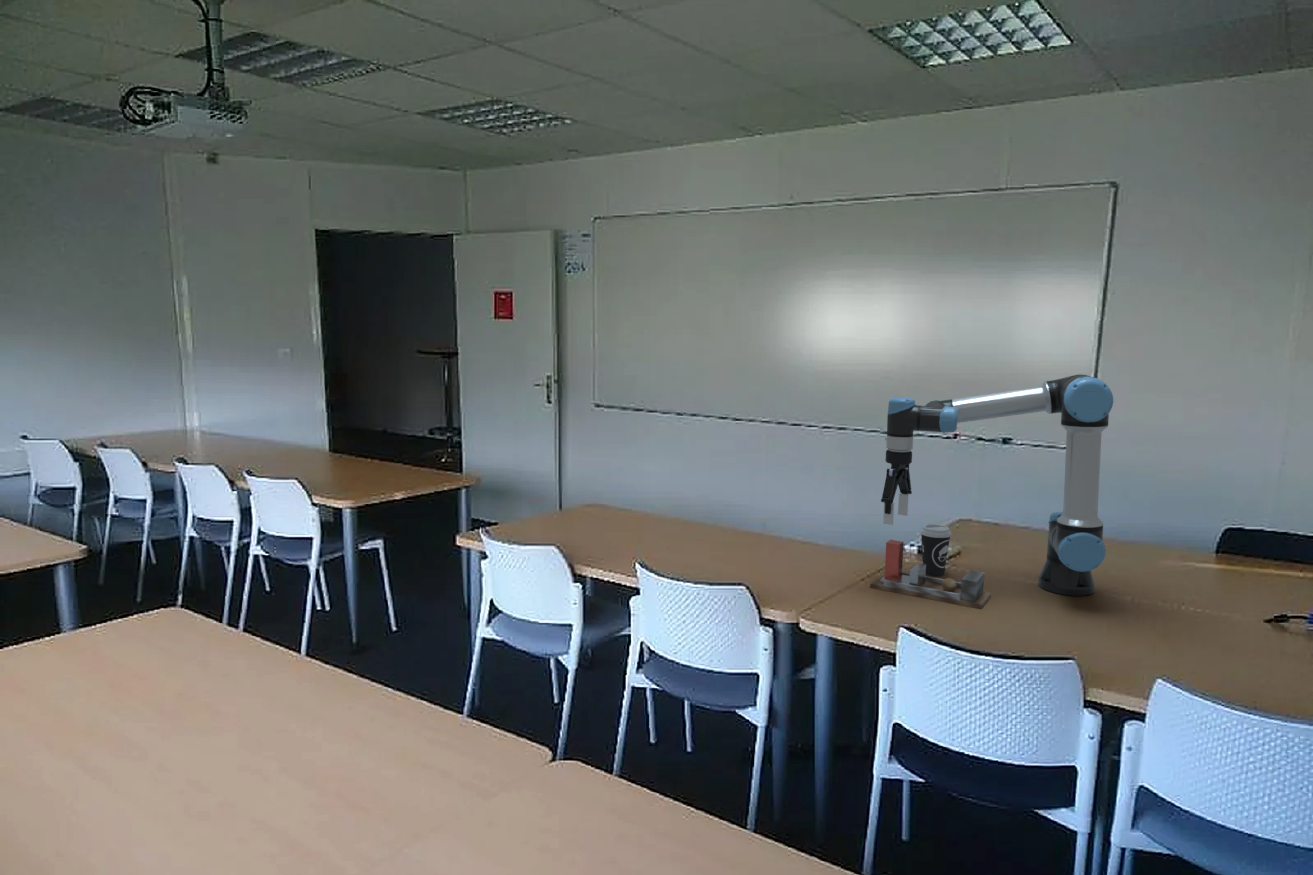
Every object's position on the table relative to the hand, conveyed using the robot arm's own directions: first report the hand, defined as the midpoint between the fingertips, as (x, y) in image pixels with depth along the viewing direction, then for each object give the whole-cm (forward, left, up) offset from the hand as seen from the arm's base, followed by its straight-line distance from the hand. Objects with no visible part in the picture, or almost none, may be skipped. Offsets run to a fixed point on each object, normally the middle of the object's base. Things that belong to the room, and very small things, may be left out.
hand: (895, 519), depth 244 cm
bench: (-11, 0, -21) cm, 23 cm away
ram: (-3, 0, -19) cm, 19 cm away
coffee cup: (-7, -19, -21) cm, 29 cm away
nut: (-17, 0, -17) cm, 24 cm away
